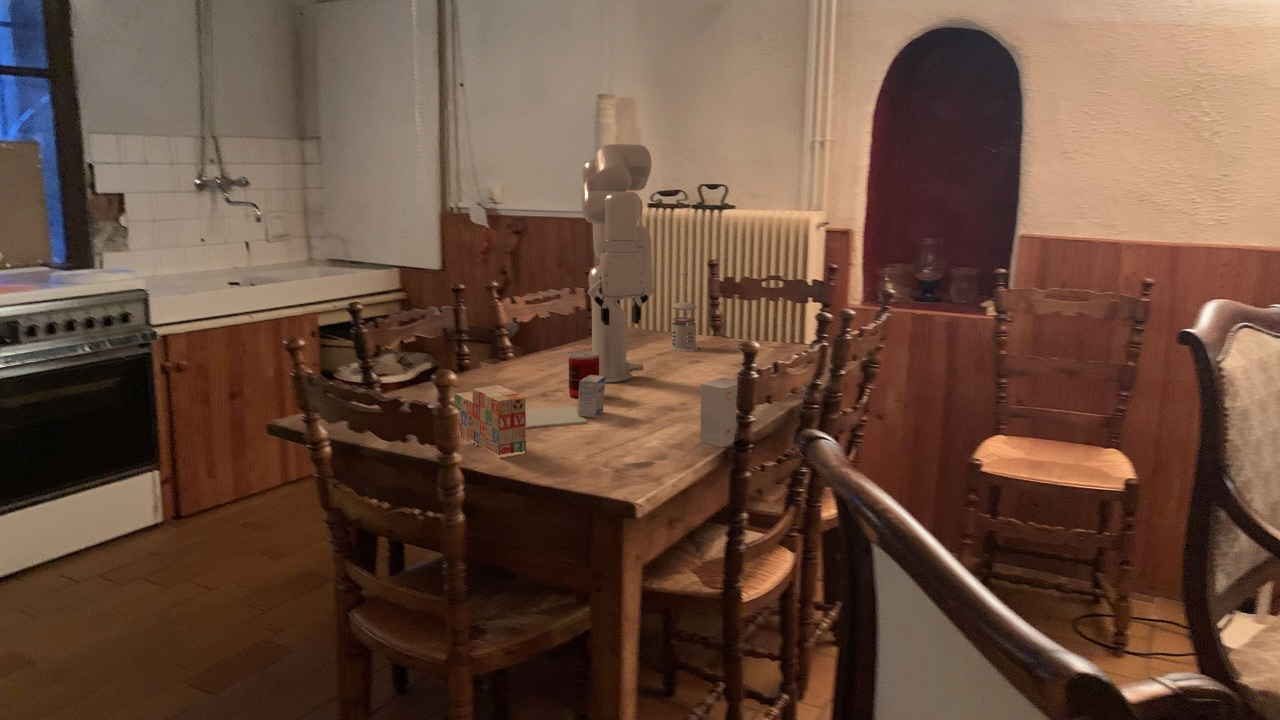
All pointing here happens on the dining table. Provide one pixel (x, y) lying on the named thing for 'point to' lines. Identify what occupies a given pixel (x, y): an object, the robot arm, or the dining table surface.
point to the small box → (718, 412)
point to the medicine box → (591, 396)
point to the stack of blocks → (493, 418)
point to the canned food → (581, 369)
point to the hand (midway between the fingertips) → (620, 323)
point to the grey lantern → (684, 327)
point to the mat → (553, 417)
